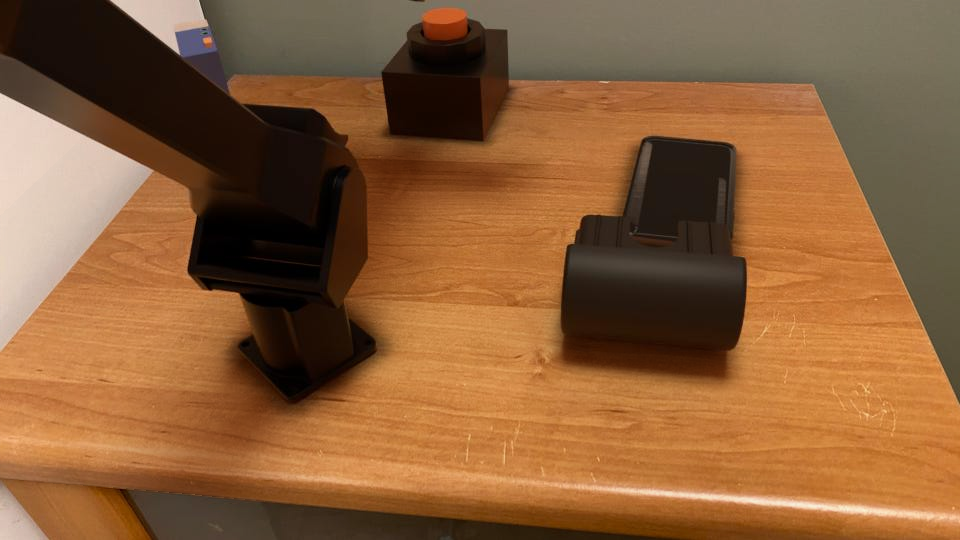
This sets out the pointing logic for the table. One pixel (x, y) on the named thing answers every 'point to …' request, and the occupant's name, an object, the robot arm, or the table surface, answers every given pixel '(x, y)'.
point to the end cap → (654, 286)
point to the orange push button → (445, 24)
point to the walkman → (200, 50)
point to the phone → (680, 187)
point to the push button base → (447, 84)
